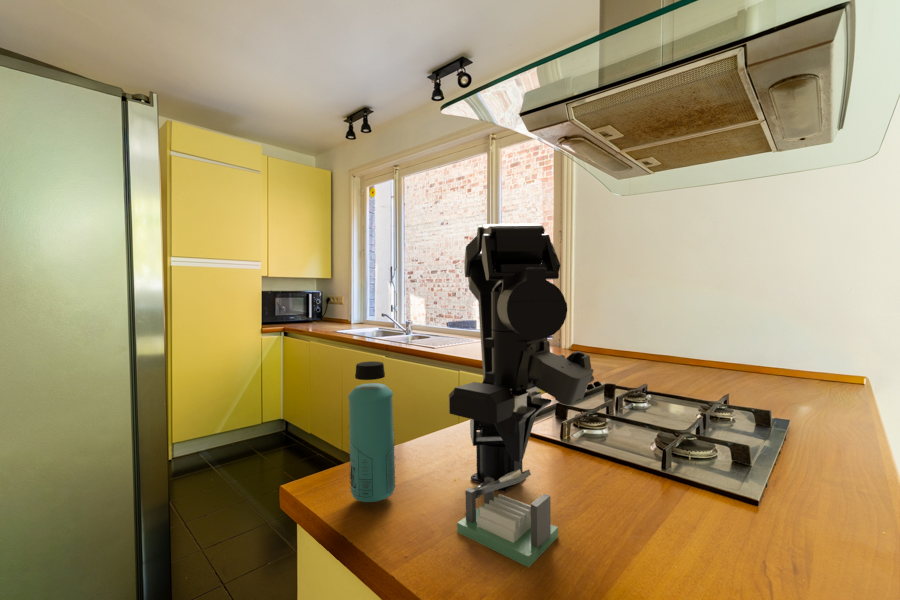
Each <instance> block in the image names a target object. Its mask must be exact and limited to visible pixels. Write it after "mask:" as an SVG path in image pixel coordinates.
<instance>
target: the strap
mask: <svg viewBox="0 0 900 600" xmlns="http://www.w3.org/2000/svg"><path fill="white" fill-rule="evenodd" d="M531 476H532V473H531V471H530V469H526V470H524V471H523V472H521V471H520V469H519V470H516V471H513V472H510V473H508V474H506V475H504V476H503V477H501V478H500V479H499V480H497V481H494V482H491V483H488V484H487V483H485V482H483V483H482V484H481V483H479V484H478V485H477V486H475V487H474V488H473V489H474V490H476V500H477V499H479V498H480V497H482V496H483V495H484V494H485V493H488V492H491V491H494V492H495V491H498V490H497V489H500V488H504V487H507V486H510V485H513V484H515V485H517V484H519V483H521V482H523V481H524V480H526V479H527V478H529V477H531ZM516 483H517V484H516Z"/></svg>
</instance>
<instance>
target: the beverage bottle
mask: <svg viewBox="0 0 900 600" xmlns="http://www.w3.org/2000/svg"><path fill="white" fill-rule="evenodd" d="M385 375H386V372H385V365H384V363H383V362H381V361H362V362H358V363H356V365H355V374H354V377H355V379H356V380H360V381H372V380H373V381H374V380H380V379H383V378H385V377H386V376H385ZM347 396H348V398H347V399H348V409H349V410H348V411H349V412H348V414H349V417H348V418H349V424H348V425H349V426H348V432H349V433H348V434H349V454H348V456H349V459H350V460H349V480H350V482H349V484H350V487H349V488H350V493H351V496H352V497H353V498H354V499H355V500H356V501H359V502H365V503H373V502H380V501H382V500H386V499H387V498H389V497H391V496H392V495H393V493H394V492H395V488H396V487H397V485H396V474H395V473H396V471H395V470H397V468H396V456H395V451H396V449H395V447H396V445H395V444H396V442H395V441H396V439H395V429H394V407H393V406H394V405H393V404H394V403H393V401H394V400H393V398H394V397H393V396H394V392H393V391H392V389H390V387H388V386H387V385H386V384H385V383H377V382H376V383H375V382H374V383H363V384H359V385H356V386H355V387H354V388H353V390H351V391H350V392H349V393H348V395H347Z"/></svg>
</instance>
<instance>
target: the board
mask: <svg viewBox="0 0 900 600" xmlns="http://www.w3.org/2000/svg"><path fill="white" fill-rule="evenodd" d="M484 482H485V483H487V484H488V483H491V482H494V478H491V477H486V478H484ZM483 495H484V503H483V504H482V505H481V506H480V507H479V506H478V508H477V499H476V490H474V488H471V487H468V488H466V489H465V517H463V518H461V520H459V521H457V523H456V525H457V526H456V527H457V528H456V532H457V533H458V534H460V535H461V536H464V537H466V538H467V539H469V540H472V541H474V542H476V543H478V544H480V545H482V546H485V548H488V549H490V550H493V552H496V553H498V554H500V555H502V556H503V557H507V558H508V559H511V560H513V561H514V562H517V563H518V564H520V565H523V566H525V567H526V568H530V567H531V566H532V565H534V563H535V562H536V561H537V560H538V559H539V557H541V555H542V554H543V553H544V552H546V550H547V549H549V547H550V546H551V545H552V544H553V543H554V542H555V541H556V540H557V539H558V537H559V527H558V526H557V525H554V524H552V523H551V520H552V519H551V516H552V515H551V514H552V513H551V495H550V494H547V493H542V494H541V495H540V496H539V497H537V498H536V499H535V500H534V501H532V502H531V503H530V504H527V503H525V502H522V501H520V500H517V499H515V498H513V497H509V496H507V495H503V494H501V493H498V494H497V496H495V490H494V491H491V492H488V493H485V494H483Z"/></svg>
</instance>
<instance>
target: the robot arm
mask: <svg viewBox="0 0 900 600" xmlns="http://www.w3.org/2000/svg"><path fill="white" fill-rule="evenodd" d="M545 230H546V228H545V227H544V225H542V224H541V223H488V224H487V223H486V224H481V225H477V232H476V235H475V236H474V238H473V239H472V240H471V241H470V242H469V243H468V244H467V245H466V246H465V251H464V253H465V255H464V264H463V265H464V278H467V279H468V290H469V291H470V292H471V294H472V295H473V296H474V297H475V299H476V300H477V302H478V317H479V318H478V319H479V330H480V347H481V348H480V349H481V364H482V378H483V381H482V382H477V381H473V382H470V383H465V384H461V385H459V386H456V387H454V388H453V390H452V391H451V392H450V393H449V394H448V412H449V414H450V415H453V416H458V417H461V418H466V419H469V428H470V429H469V430H470V431H469V432H470V439H471V443H472V446H473V447H476V450H475V451H476V473H473V474H472V475H470V480H471V481H473V482H476V483H478V484H482V483H483V482H484V478H486V477H491V478H494V481H497V480H499V479H500V478H501V477H503V476H504V475H506V474H508V473H510V472H513V471H516V470H519V469H520V471H521V472H524V471H523V459H524V456H525V453H526V449H527V447H528V443H529V439H530V436H531V433H532V430H533V426H534V423H535V420H536V418H537V415H538V414H539V413H540V412H541V411H543V410H544V409H545V408H546V407H548V406H549V405H551V404H552V401H553V400H552V399H550V398H544V397H542V392H540V390H541V391H543V392H544V393H546V394H548V395H550V396H552V397H554V399H555V401H556V402H558V403H560V404H563V405H566V406H567V405H568V406H570V405H573V404H575V402H576V401H579V400H583V399H584V397H585V394H586V391H587V388H588V387H589V384H590V383H593V382H594V380H595V376H594V375H593V373H594V369H593V368H592V362H591V356H590V355H588V354H587V353H584V352H583V351H581V350H578V351H574V352H572V353H570V354H569V355H568V356H567V357H566V355H564V354H560V355H559V354H557V353H553V352H551V346H550V345H551V343H550V340H548V338H549V337H552V336H554V335H555V334H556V333H557V332H559V331H560V330H561V328H562V327H563V325H564V324H565V321H566V319H567V315H568V304H567V302H566V299H565V296H564V294H563V292H562V291H561V289H560V288H558V286H556V284H554V283H553V282H551V281H549V280H559V276H560V274H559V273H560V269H561V263H560V260H559V258H558V254H557V252H556V250H555V247H554V245H553V242H551V237H550V235H549V233H545ZM517 484H518V483H516V484H513V485H510V486H507V487H504V488H500V489H497V490H496V491H500V492H506V491H508V490H510V489H512V487H514V486H515V485H517Z"/></svg>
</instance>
